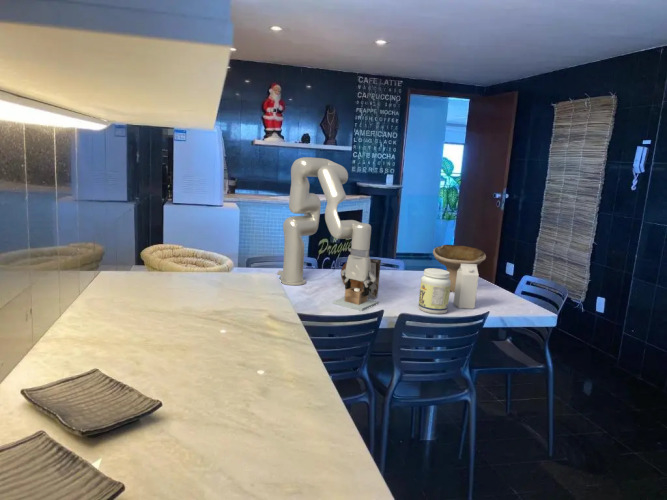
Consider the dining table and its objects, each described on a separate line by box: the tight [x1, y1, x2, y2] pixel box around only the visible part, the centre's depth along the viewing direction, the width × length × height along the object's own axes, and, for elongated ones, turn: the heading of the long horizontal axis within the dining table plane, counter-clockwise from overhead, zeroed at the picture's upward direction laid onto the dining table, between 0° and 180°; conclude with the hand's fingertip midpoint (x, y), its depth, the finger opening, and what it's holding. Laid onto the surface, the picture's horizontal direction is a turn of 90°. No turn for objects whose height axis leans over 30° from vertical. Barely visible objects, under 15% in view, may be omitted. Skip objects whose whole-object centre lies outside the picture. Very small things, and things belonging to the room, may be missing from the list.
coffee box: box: [363, 258, 382, 300], centre depth 225 cm, size 9×6×16 cm
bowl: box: [432, 244, 487, 293], centre depth 248 cm, size 26×25×20 cm
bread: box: [340, 262, 363, 289], centre depth 246 cm, size 16×29×11 cm, turn 3°
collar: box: [344, 287, 368, 305], centre depth 211 cm, size 7×7×5 cm
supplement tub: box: [417, 267, 451, 315], centre depth 209 cm, size 12×12×17 cm
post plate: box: [332, 288, 379, 312], centre depth 211 cm, size 14×14×6 cm
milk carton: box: [453, 264, 480, 310], centre depth 218 cm, size 7×7×19 cm
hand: (356, 293), depth 211 cm, fingers open, 8 cm apart
